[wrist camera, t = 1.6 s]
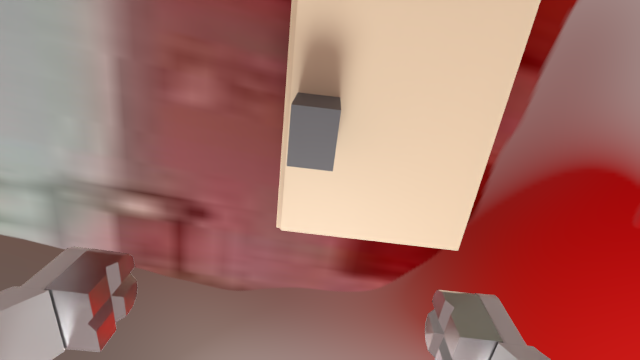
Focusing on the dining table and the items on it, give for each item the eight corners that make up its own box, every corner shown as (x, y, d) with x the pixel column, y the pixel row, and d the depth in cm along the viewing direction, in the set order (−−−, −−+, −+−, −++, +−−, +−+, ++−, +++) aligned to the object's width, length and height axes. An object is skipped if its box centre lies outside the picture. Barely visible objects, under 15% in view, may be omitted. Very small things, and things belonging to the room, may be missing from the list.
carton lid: (301, -31, 22) (292, -44, 18) (534, -2, 22) (583, -8, 18) (281, 225, 30) (272, 259, 26) (455, 245, 30) (475, 283, 26)
